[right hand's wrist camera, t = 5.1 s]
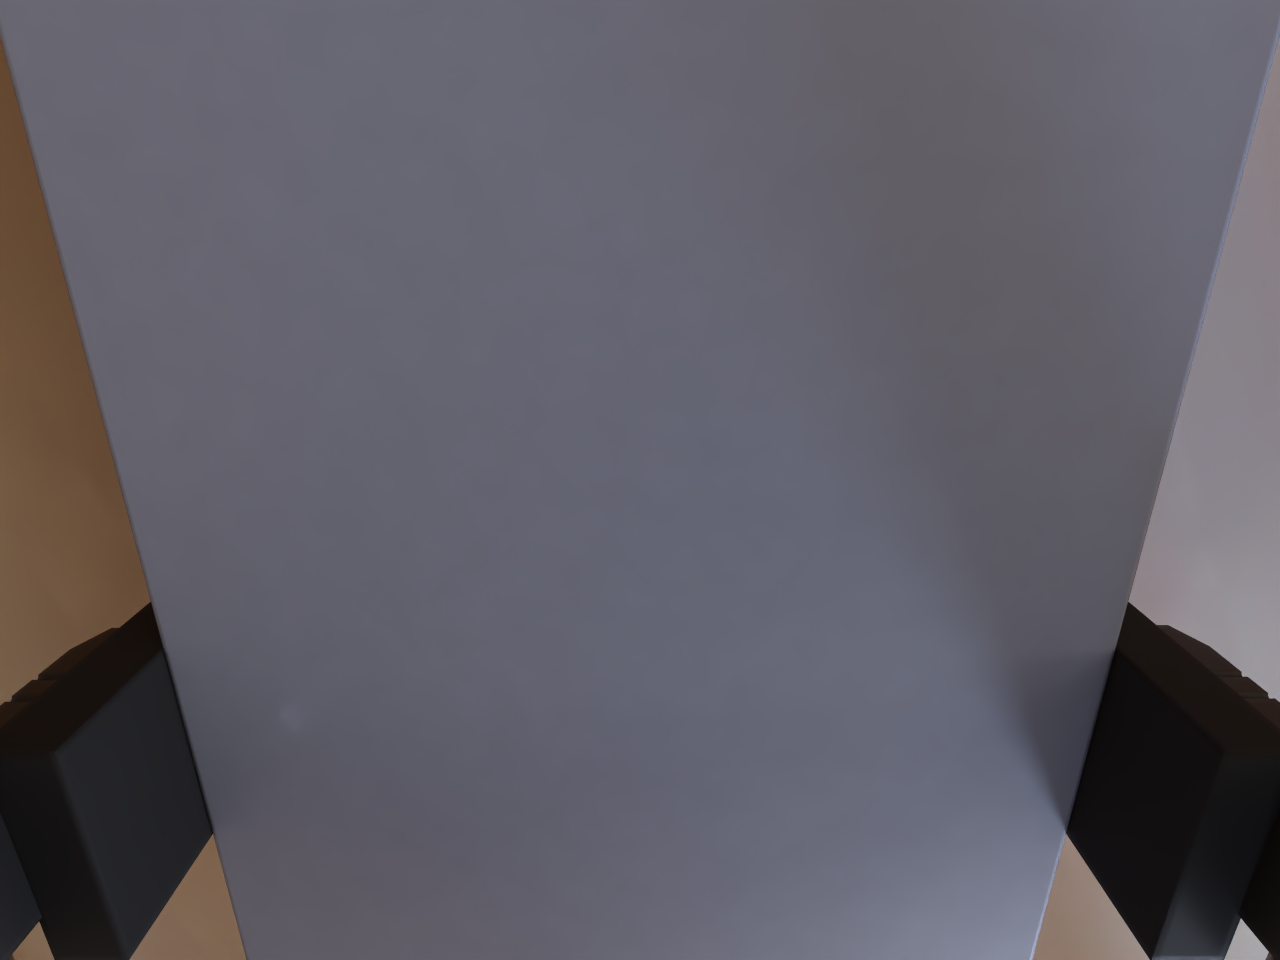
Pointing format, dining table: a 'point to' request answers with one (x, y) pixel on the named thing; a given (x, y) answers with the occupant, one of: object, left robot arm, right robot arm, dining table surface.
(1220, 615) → the dining table surface
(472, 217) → the grey rectangular box
